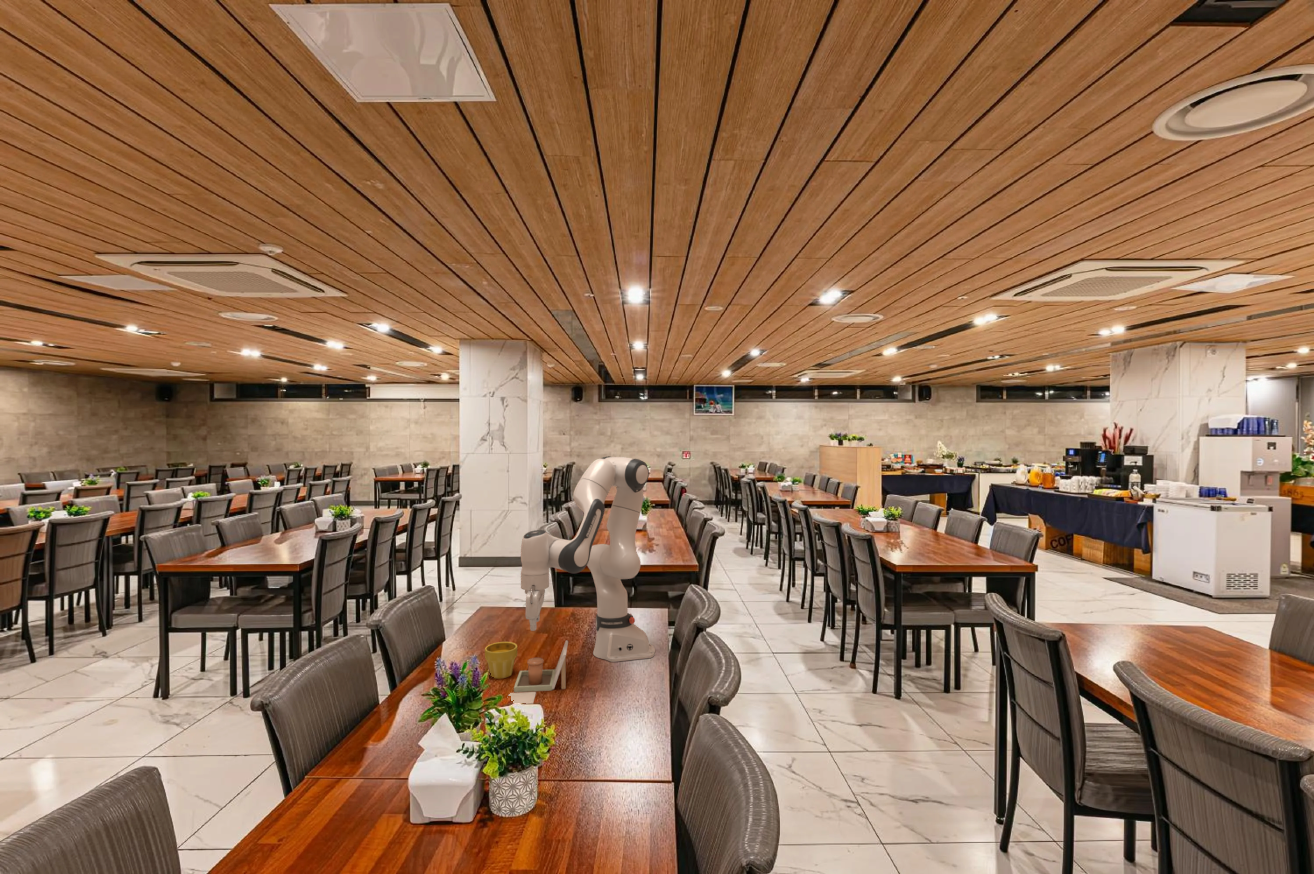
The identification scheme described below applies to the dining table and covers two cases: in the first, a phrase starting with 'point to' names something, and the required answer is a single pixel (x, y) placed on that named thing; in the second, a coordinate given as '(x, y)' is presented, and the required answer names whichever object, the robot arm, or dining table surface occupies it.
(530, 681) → the terracotta pot
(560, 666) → the propped lid
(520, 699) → the plate
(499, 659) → the plant pot
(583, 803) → the dining table surface
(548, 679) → the shallow square tray
